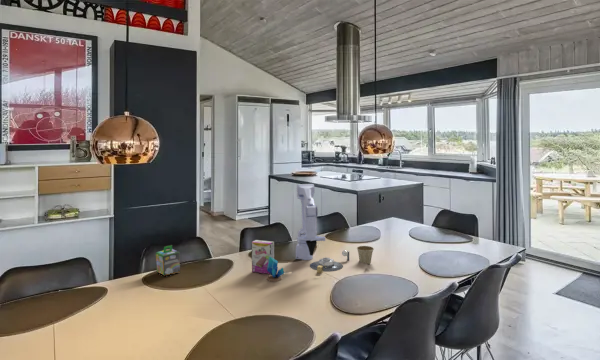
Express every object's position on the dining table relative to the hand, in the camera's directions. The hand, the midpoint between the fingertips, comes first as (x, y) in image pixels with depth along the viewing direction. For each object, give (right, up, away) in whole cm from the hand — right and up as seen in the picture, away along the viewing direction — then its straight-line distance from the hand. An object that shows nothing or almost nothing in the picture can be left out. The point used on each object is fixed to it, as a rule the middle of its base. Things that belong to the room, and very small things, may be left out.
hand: (311, 254), depth 191 cm
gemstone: (-19, -11, -8) cm, 23 cm away
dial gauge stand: (+22, -8, +18) cm, 29 cm away
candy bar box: (-25, -10, +2) cm, 27 cm away
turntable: (+8, -8, +7) cm, 13 cm away
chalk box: (-75, -10, +2) cm, 76 cm away
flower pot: (+31, -8, +15) cm, 35 cm away
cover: (+8, -8, +8) cm, 14 cm away
